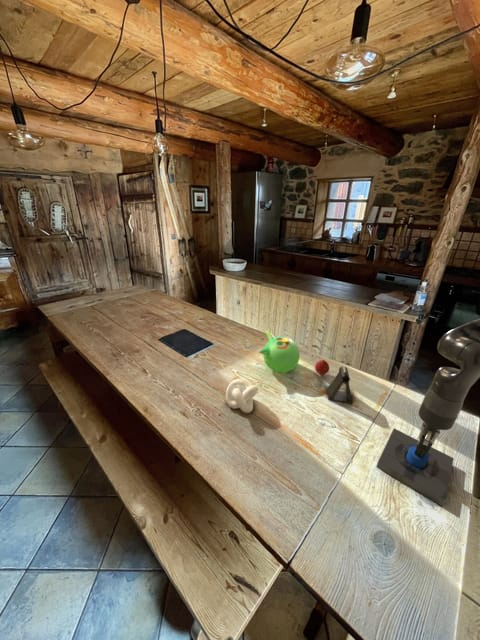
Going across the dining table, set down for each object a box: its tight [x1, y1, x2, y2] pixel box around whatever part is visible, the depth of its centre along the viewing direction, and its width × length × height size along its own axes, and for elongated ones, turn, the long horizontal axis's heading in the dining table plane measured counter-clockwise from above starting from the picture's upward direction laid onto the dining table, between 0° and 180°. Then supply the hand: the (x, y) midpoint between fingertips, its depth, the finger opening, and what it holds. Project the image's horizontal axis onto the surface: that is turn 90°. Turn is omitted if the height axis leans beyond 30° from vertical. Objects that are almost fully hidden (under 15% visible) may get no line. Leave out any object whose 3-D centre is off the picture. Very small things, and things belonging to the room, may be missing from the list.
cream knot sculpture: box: [225, 378, 259, 414], centre depth 97 cm, size 11×12×9 cm
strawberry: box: [314, 359, 330, 376], centre depth 114 cm, size 6×6×8 cm
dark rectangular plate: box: [375, 428, 454, 507], centre depth 77 cm, size 16×16×2 cm
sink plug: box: [405, 446, 429, 469], centre depth 75 cm, size 5×5×8 cm
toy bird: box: [258, 330, 301, 373], centre depth 117 cm, size 18×17×15 cm
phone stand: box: [326, 366, 354, 404], centre depth 101 cm, size 9×6×12 cm, turn 78°
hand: (419, 452), depth 75 cm, fingers closed on sink plug
